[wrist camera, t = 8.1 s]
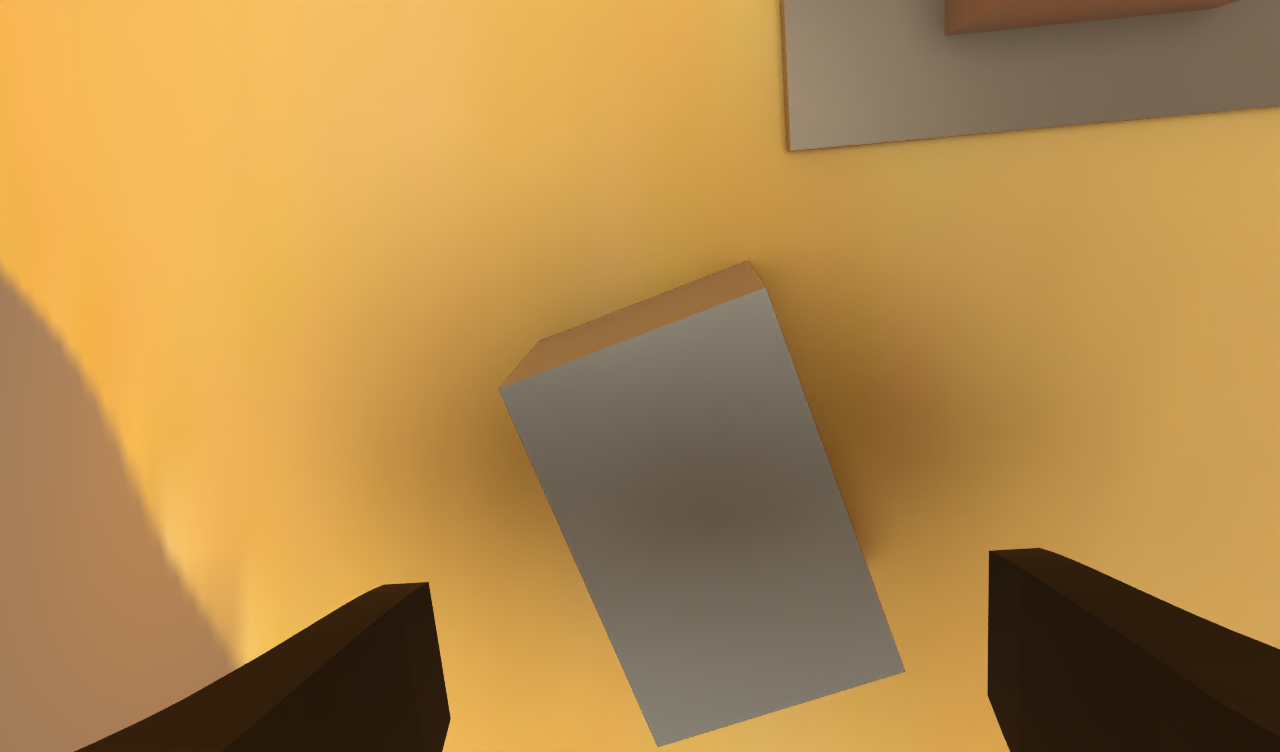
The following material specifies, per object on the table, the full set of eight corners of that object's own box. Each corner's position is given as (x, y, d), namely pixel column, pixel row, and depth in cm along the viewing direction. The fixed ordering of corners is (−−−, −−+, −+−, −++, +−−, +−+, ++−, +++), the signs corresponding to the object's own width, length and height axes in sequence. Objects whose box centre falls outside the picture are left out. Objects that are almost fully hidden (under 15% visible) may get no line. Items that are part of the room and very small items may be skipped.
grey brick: (747, 260, 17) (765, 287, 13) (858, 563, 18) (905, 671, 14) (540, 339, 17) (498, 388, 13) (663, 627, 19) (657, 746, 15)
